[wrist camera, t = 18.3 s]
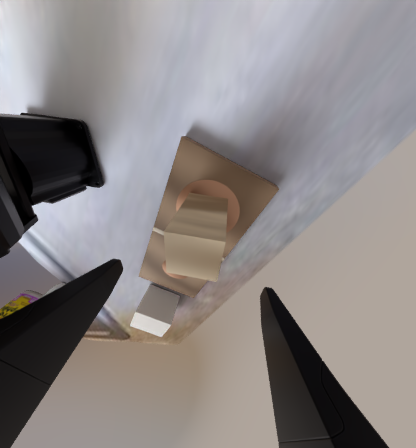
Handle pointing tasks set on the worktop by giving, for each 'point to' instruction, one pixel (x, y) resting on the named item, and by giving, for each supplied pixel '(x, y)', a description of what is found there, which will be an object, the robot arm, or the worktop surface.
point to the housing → (155, 311)
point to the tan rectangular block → (197, 237)
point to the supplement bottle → (19, 302)
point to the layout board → (211, 186)
